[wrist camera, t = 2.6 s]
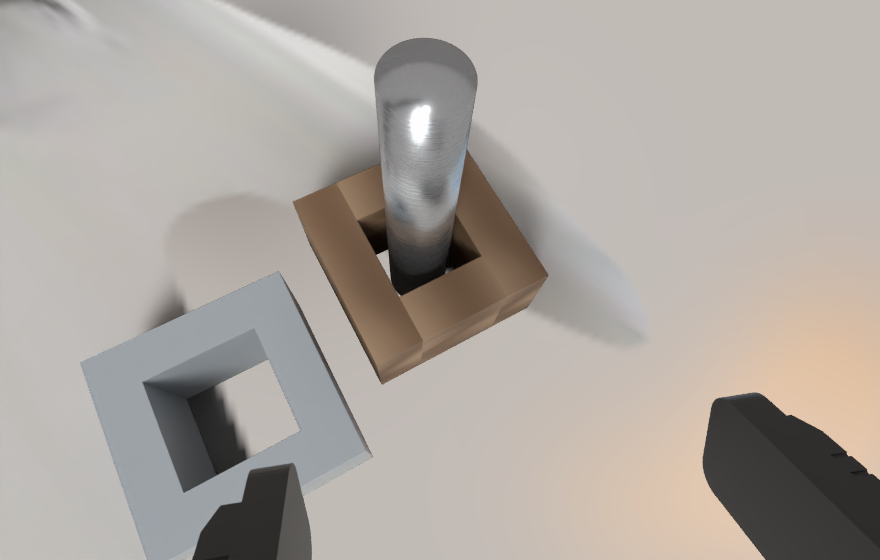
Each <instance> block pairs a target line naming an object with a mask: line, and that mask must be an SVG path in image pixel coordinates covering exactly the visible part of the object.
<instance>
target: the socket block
mask: <svg viewBox="0 0 880 560" xmlns="http://www.w3.org/2000/svg"><path fill="white" fill-rule="evenodd" d="M267 359H269V361H270V364H271V366H272V368H273V370H274V373H275V374H276V377H277V379H278V382H279V384H280V386H281V388H282V390H283V392H284V395H285V397H286V399H287V401H288V403H289V406H290V408H291V410H292V412H293V415H294V417H295V419H296V421H297V423H298V426H299V428H300V430H301V431H299V432H298V433H296V434H294V435H292V436H290V437H288V438H287V439H284V440H283V441H281V442H279V443H277V444H275V445H273V446H271V447H269V448H268V449H266V450H264V451H262V452H260V453H258V454H256V455H254V456H252V457H251V458H249V459H247V460H245V461H243V462H241V463H239V464H237V465H236V466H234V467H232V468H230V469H228V470H226V471H224V472H222V473H221V474H219V475H216V472H215V470H214V467H213V465H212V462H211V460H210V457H209V455H208V452H207V450H206V447H205V444H204V442H203V439H202V437H201V434H200V432H199V429H198V427H197V424H196V422H195V419H194V417H193V414H192V412H191V409H190V407H189V404H188V401H187V399H189V398H191V397H193V396H195V395H197V394H199V393H201V392H203V391H205V390H207V389H209V388H211V387H213V386H215V385H217V384H219V383H221V382H223V381H225V380H227V379H229V378H231V377H233V376H235V375H237V374H239V373H241V372H243V371H245V370H247V369H249V368H251V367H253V366H255V365H257V364H259V363H261V362H263V361H265V360H267ZM80 364H81V367H82V370H83V373H84V376H85V379H86V382H87V385H88V388H89V391H90V394H91V397H92V399H93V402H94V405H95V408H96V411H97V414H98V417H99V420H100V423H101V426H102V429H103V432H104V435H105V438H106V441H107V443H108V446H109V449H110V452H111V455H112V458H113V461H114V464H115V467H116V470H117V473H118V476H119V479H120V482H121V485H122V488H123V490H124V493H125V496H126V499H127V502H128V505H129V508H130V511H131V514H132V517H133V520H134V523H135V526H136V529H137V532H138V534H139V537H140V540H141V543H142V546H143V549H144V552H145V555H146V558H147V560H184V559H187V558H190V557H193V556H194V552H195V549H196V546H197V542H198V539H199V536H200V532H201V531H202V530H203V528H204V527H205V526H206V524H207V523H208V522H209V520H210V519H211V517H212V516H213V515H214V513H215V512H216V511H217V509H218V508H219V507H220V505H226V504H232V503H238V502H242V498H243V494H244V489H245V485H246V481H247V477H248V474H249V471H250V470H251V469H257V468H263V467H270V466H276V465H283V464H289V463H293V464H294V465H295V467H296V470H297V474H298V478H299V483H300V487H301V491H302V495H303V496H304V495H306V494H308V493H310V492H311V491H313V490H315V489H317V488H318V487H320V486H322V485H324V484H325V483H327V482H329V481H331V480H332V479H334V478H336V477H338V476H340V475H342V474H343V473H345V472H347V471H349V470H351V469H352V468H354V467H356V466H358V465H360V464H361V463H363V462H365V461H367V460H369V459H370V458H372V457H373V456H372V454H371V452H370V450H369V448H368V446H367V444H366V442H365V439H364V437H363V435H362V434H361V431H360V429H359V427H358V425H357V423H356V421H355V419H354V417H353V415H352V413H351V411H350V409H349V407H348V405H347V402H346V401H345V398H344V396H343V394H342V392H341V390H340V388H339V386H338V384H337V382H336V380H335V378H334V376H333V374H332V372H331V370H330V368H329V366H328V363H327V361H326V359H325V357H324V355H323V353H322V351H321V349H320V347H319V345H318V343H317V341H316V339H315V337H314V335H313V333H312V331H311V328H310V326H309V325H308V322H307V320H306V318H305V316H304V314H303V312H302V310H301V308H300V306H299V304H298V303H297V301H296V299H295V297H294V296H293V294H292V292H291V291H290V289H289V287H288V286H287V284H286V282H285V281H284V279H283V277H282V276H281V274H280V273H279V271H278V272H276V273H273V274H271V275H269V276H267V277H265V278H263V279H260V280H258V281H256V282H254V283H252V284H250V285H247V286H245V287H243V288H241V289H239V290H237V291H234V292H232V293H230V294H228V295H226V296H224V297H221V298H219V299H217V300H215V301H213V302H211V303H208V304H206V305H204V306H202V307H200V308H198V309H195V310H193V311H191V312H189V313H187V314H185V315H182V316H180V317H178V318H176V319H174V320H172V321H169V322H167V323H165V324H163V325H161V326H159V327H156V328H154V329H152V330H150V331H148V332H145V333H143V334H141V335H139V336H137V337H135V338H132V339H130V340H128V341H126V342H124V343H122V344H119V345H117V346H115V347H113V348H111V349H109V350H106V351H104V352H102V353H100V354H98V355H96V356H93V357H91V358H89V359H87V360H85V361H83V362H80Z"/></svg>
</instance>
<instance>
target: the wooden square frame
mask: <svg viewBox="0 0 880 560" xmlns="http://www.w3.org/2000/svg"><path fill="white" fill-rule="evenodd" d="M293 204H294V206H295V209H296V211H297V214H298V216H299V219H300V221H301V223H302V226H303V228H304V231H305V233H306V236H307V238H308V241H309V243H310V245H311V247H312V249H313V251H314V253H315V255H316V257H317V259H318V261H319V263H320V265H321V267H322V269H323V271H324V273H325V274H326V276H327V279H328V280H329V282H330V284H331V286H332V288H333V290H334V292H335V294H336V296H337V298H338V300H339V302H340V304H341V306H342V308H343V310H344V312H345V314H346V316H347V318H348V320H349V321H350V323H351V325H352V327H353V329H354V331H355V333H356V335H357V337H358V339H359V341H360V343H361V345H362V347H363V349H364V351H365V353H366V355H367V356H368V358H369V360H370V362H371V364H372V366H373V368H374V370H375V372H376V374H377V376H378V378H379V380H380V382H381V384H384V383H386V382H388V381H389V380H391V379H393V378H395V377H397V376H399V375H401V374H403V373H405V372H407V371H408V370H410V369H412V368H414V367H416V366H418V365H420V364H421V363H423V362H425V361H427V360H429V359H431V358H433V357H435V356H437V355H438V354H440V353H442V352H444V351H446V350H448V349H450V348H452V347H453V346H456V345H457V344H459V343H461V342H463V341H465V340H467V339H469V338H470V337H472V336H474V335H476V334H478V333H480V332H482V331H484V330H486V329H488V328H489V327H491V326H493V325H495V324H497V323H499V322H500V321H503V320H504V319H506V318H508V317H510V316H512V315H514V314H516V313H518V312H520V311H521V310H523V309H525V308H527V307H528V305H529V304H530V302H531V301H532V299H533V298H534V296H535V295H536V293H537V292H538V290H539V289H540V287H541V286H542V284H543V283H544V281H545V280H546V278H547V277H548V274H547V272H546V271H545V269H544V267H543V266H542V264H541V263H540V261H539V260H538V258H537V257H536V255H535V254H534V252H533V251H532V249H531V247H530V246H529V244H528V243H527V241H526V240H525V238H524V237H523V235H522V234H521V232H520V231H519V229H518V227H517V226H516V224H515V223H514V221H513V220H512V218H511V217H510V215H509V214H508V212H507V211H506V209H505V208H504V206H503V204H502V203H501V201H500V200H499V198H498V197H497V195H496V194H495V192H494V191H493V189H492V188H491V186H490V184H489V183H488V181H487V180H486V178H485V177H484V175H483V174H482V172H481V171H480V169H479V168H478V166H477V164H476V163H475V161H474V160H473V158H472V157H471V155H470V154H469V152H468V151H467V149H466V154H465V160H464V166H463V172H462V177H461V183H460V189H459V195H458V201H457V207H456V212H455V218H454V224H453V230H452V236H451V241H450V247H449V253H448V254H449V255H450V257H451V259H452V260H453V262H454V264H455V265H456V267H457V269H455V270H453V271H451V272H449V273H447V274H445V275H443V276H441V277H439V278H437V279H435V280H433V281H431V282H429V283H427V284H425V285H423V286H421V287H419V288H417V289H415V290H413V291H411V292H409V293H407V294H405V295H403V296H401V297H399V296H398V294H397V292H396V290H395V289H394V287H393V285H392V283H391V281H390V279H389V278H388V276H387V274H386V272H385V270H384V269H383V267H382V265H381V263H380V261H379V260H378V258H377V256H376V255H377V254H379V253H381V252H383V251H385V250H388V239H387V227H386V215H385V203H384V191H383V179H382V167H381V164H378V165H376V166H374V167H372V168H369V169H367V170H365V171H362V172H360V173H358V174H355V175H353V176H351V177H349V178H346V179H344V180H342V181H339V182H337V183H335V184H333V185H330V186H328V187H326V188H323V189H321V190H319V191H316V192H314V193H312V194H310V195H307V196H305V197H303V198H300V199H298V200H296V201H293Z"/></svg>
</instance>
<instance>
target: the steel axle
mask: <svg viewBox="0 0 880 560" xmlns="http://www.w3.org/2000/svg"><path fill="white" fill-rule="evenodd" d="M374 84H375V96H376V108H377V120H378V132H379V144H380V156H381V167H382V179H383V191H384V203H385V215H386V227H387V239H388V251H389V263H390V273H391V282H392V285H393V287H394V289H395V290H396V291H397V293H399V294H400V295H401V296H403V295H405V294H407V293H409V292H411V291H413V290H415V289H417V288H419V287H421V286H423V285H425V284H427V283H429V282H431V281H433V280H435V279H437V278H439V277H441V276H443V275H445V271H446V265H447V259H448V253H449V247H450V241H451V236H452V230H453V224H454V218H455V212H456V207H457V201H458V195H459V189H460V183H461V177H462V172H463V166H464V160H465V154H466V148H467V142H468V137H469V131H470V125H471V119H472V113H473V108H474V102H475V96H476V90H477V74H476V70H475V67H474V65H473V63H472V62H471V60H470V59H469V58H468V57H467V55H466V54H465V53H464V52H462V51H461V50H460V49H458V48H457V47H456V46H454V45H452V44H450V43H447V42H445V41H442V40H438V39H432V38H416V39H410V40H406V41H403V42H401V43H398V44H397V45H395V46H393V47H391V48H390V49H389V50H388V51H387V52H385V54H384V55H383V56H382V57H381V59H380V60H379V62H378V64H377V66H376V69H375V74H374Z"/></svg>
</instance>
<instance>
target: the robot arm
mask: <svg viewBox="0 0 880 560" xmlns="http://www.w3.org/2000/svg"><path fill="white" fill-rule="evenodd" d="M703 470H704V474H705V477H706V480H707V482H708V484H709V486H710V488H711V490H712V491H713V493H714V494H715V496H716V497H717V498H718V499H719V501H720V502H721V503H722V504H723V506H724V507H725V508H726V510H727V511H728V512H729V513H730V515H731V516H732V517H733V519H734V520H735V521H736V522H737V524H738V525H739V526H740V527H741V529H742V530H743V531H744V533H745V534H746V535H747V536H748V538H749V539H750V540H751V541H752V543H753V544H754V545H755V547H756V548H757V549H758V551H759V552H760V553H761V554H762V556H763V557H764V558H765V559H766V560H880V480H879V479H877V477H875V476H874V475H873V474H868V472H867V469H866V468H865V467H864V466H863V465H861V464H860V463H859V462H858V461H857V460H856V459H854V458H853V457H852V456H848V455H847V452H846V451H845V450H844V449H842V448H841V447H840V446H839V445H838V444H837V443H836V442H834V441H833V440H832V439H831V438H830V437H829V436H827V435H826V434H825V433H824V432H823V431H821V430H819V429H817V428H815V427H813V426H812V425H810V424H807V423H806V422H804V421H802V420H800V419H798V418H796V417H794V416H792V415H788V416H786V415H785V414H784V413H783V412H782V411H780V410H779V409H778V408H777V407H776V406H775V405H774V404H773V403H772V402H770V401H769V400H768V399H767V398H766V397H765V396H763V395H761V394H759V393H748V394H742V395H735V396H729V397H722V398H718V399H716V400H715V401H714V402H713V404H712V407H711V413H710V418H709V424H708V430H707V436H706V442H705V448H704V454H703ZM311 549H312V548H311V533H310V526H309V521H308V517H307V512H306V508H305V504H304V499H303V495H302V491H301V487H300V483H299V478H298V474H297V470H296V467H295V465H294V464H293V463H289V464H283V465H276V466H270V467H263V468H257V469H251V470H250V471H249V474H248V477H247V481H246V485H245V489H244V494H243V498H242V502H238V503H232V504H226V505H220V507H219V508H218V509H217V511H216V512H215V513H214V515H213V516H212V517H211V519H210V520H209V522H208V523H207V524H206V526H205V527H204V528H203V530H202V531H201V532H200V536H199V539H198V542H197V546H196V549H195V552H194V556H193V559H192V560H311V559H312V550H311Z"/></svg>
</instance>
